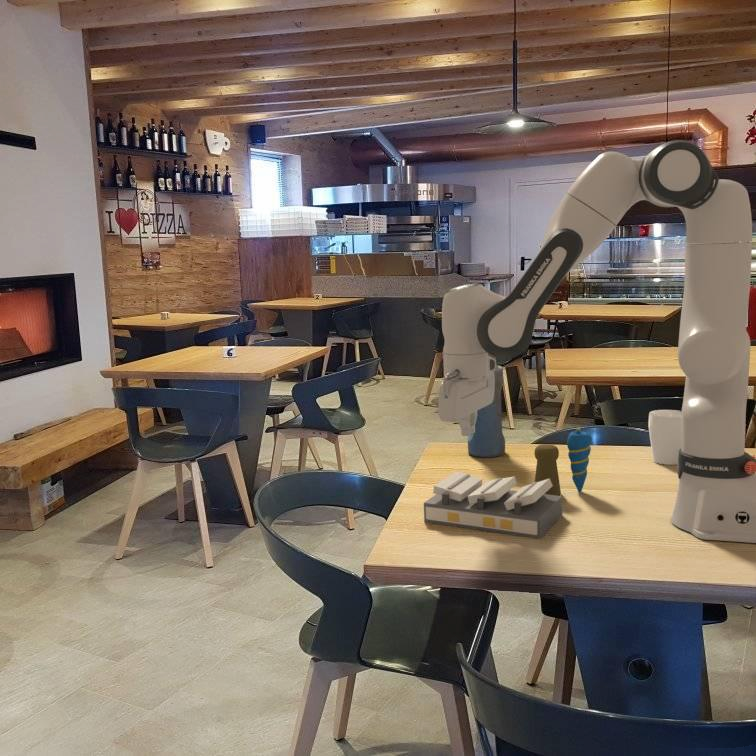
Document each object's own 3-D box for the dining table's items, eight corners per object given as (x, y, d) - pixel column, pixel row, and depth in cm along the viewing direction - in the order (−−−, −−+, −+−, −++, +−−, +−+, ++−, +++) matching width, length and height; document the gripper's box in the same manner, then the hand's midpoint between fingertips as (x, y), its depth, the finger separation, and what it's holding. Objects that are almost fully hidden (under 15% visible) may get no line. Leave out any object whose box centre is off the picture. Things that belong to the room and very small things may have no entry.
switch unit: (562, 515, 161) (562, 485, 160) (539, 539, 148) (539, 507, 147) (453, 501, 172) (452, 473, 171) (423, 522, 160) (422, 492, 159)
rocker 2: (553, 485, 159) (549, 476, 159) (534, 502, 149) (530, 493, 149) (526, 493, 162) (523, 484, 162) (506, 510, 152) (502, 501, 153)
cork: (541, 488, 178) (540, 440, 177) (566, 492, 175) (565, 443, 173) (527, 495, 174) (527, 446, 172) (553, 500, 170) (552, 450, 168)
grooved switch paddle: (481, 485, 167) (483, 477, 166) (459, 501, 157) (461, 492, 157) (455, 477, 170) (457, 469, 169) (432, 493, 160) (433, 484, 159)
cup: (690, 458, 196) (691, 411, 194) (682, 468, 189) (683, 418, 187) (653, 455, 201) (653, 408, 199) (643, 464, 194) (644, 415, 192)
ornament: (595, 491, 175) (595, 424, 172) (584, 497, 171) (584, 428, 169) (574, 486, 178) (574, 421, 176) (562, 492, 175) (562, 425, 172)
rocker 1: (517, 483, 163) (514, 474, 163) (496, 500, 153) (494, 490, 153) (490, 487, 166) (488, 479, 166) (469, 504, 156) (466, 494, 156)
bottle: (507, 457, 205) (505, 341, 200) (469, 459, 205) (466, 343, 200) (502, 448, 214) (500, 337, 209) (465, 449, 214) (462, 338, 210)
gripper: (459, 375, 148) (462, 448, 150) (499, 359, 165) (501, 424, 167) (428, 374, 151) (431, 445, 153) (470, 358, 168) (473, 422, 171)
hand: (468, 434), depth 160 cm, fingers closed
